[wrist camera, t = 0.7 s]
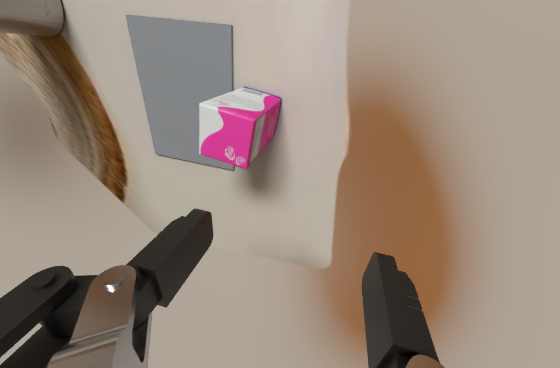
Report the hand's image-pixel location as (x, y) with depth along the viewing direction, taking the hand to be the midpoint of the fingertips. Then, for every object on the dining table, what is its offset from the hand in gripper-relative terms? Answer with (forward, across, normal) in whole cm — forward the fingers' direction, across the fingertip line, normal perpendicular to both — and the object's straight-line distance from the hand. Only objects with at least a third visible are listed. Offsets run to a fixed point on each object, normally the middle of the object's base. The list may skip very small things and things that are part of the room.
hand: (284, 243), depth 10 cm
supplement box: (+23, +9, 0) cm, 25 cm away
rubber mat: (+23, +21, 0) cm, 31 cm away
